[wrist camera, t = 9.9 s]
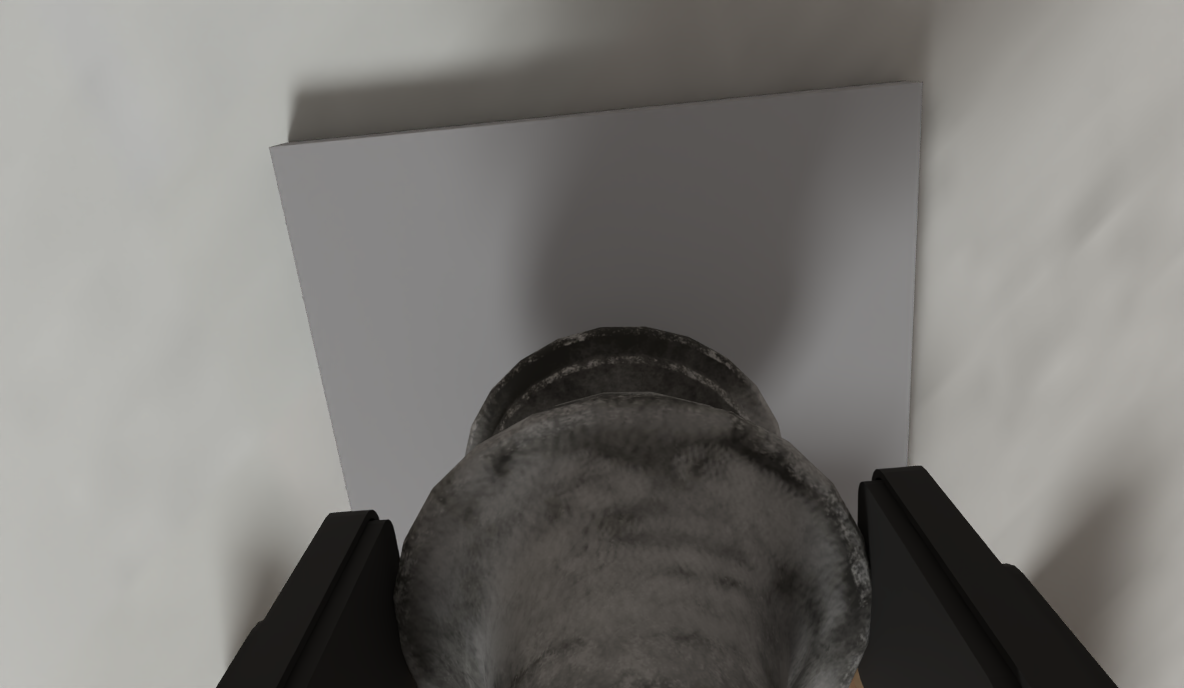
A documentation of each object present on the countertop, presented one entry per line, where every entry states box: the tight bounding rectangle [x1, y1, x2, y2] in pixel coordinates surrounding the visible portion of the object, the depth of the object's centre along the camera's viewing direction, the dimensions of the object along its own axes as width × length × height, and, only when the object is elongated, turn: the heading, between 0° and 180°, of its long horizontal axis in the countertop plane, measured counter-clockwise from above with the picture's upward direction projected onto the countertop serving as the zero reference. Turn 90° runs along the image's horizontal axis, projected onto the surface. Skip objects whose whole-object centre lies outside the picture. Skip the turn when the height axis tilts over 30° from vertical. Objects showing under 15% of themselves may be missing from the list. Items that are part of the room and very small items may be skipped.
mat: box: [269, 81, 923, 557], centre depth 16 cm, size 11×11×1 cm
